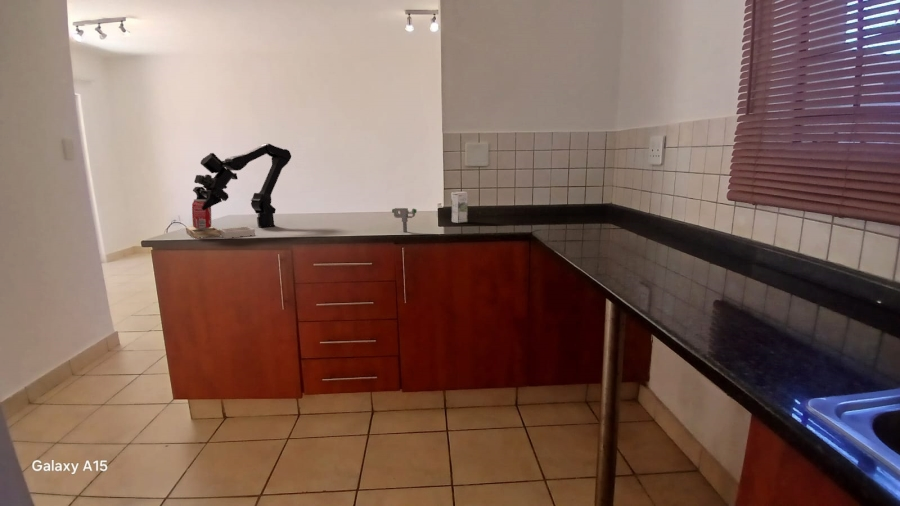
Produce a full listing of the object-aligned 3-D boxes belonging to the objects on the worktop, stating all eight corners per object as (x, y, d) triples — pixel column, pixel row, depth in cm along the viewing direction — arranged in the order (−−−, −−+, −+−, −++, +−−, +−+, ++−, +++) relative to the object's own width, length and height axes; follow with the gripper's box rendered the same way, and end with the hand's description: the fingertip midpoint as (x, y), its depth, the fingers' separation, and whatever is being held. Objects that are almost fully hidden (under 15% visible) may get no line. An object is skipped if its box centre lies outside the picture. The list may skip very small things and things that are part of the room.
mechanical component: (415, 232, 195) (414, 209, 193) (392, 232, 197) (391, 208, 195) (417, 231, 198) (416, 208, 196) (394, 231, 200) (393, 208, 198)
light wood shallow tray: (210, 230, 212) (210, 224, 212) (219, 235, 197) (219, 229, 196) (186, 232, 207) (185, 227, 206) (194, 238, 191) (193, 232, 191)
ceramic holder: (248, 231, 206) (247, 226, 205) (255, 235, 197) (254, 229, 196) (219, 234, 199) (218, 229, 199) (225, 238, 190) (224, 232, 190)
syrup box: (461, 220, 228) (460, 191, 225) (468, 222, 223) (467, 191, 220) (451, 222, 225) (450, 191, 222) (458, 223, 220) (457, 192, 217)
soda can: (206, 226, 202) (205, 198, 200) (214, 228, 198) (214, 200, 196) (189, 227, 197) (188, 199, 194) (197, 230, 193) (196, 201, 190)
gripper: (194, 167, 200) (171, 195, 194) (217, 167, 190) (194, 197, 183) (214, 184, 208) (193, 212, 202) (238, 185, 198) (216, 214, 191)
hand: (198, 209), depth 194 cm, fingers closed on soda can, 6 cm apart
